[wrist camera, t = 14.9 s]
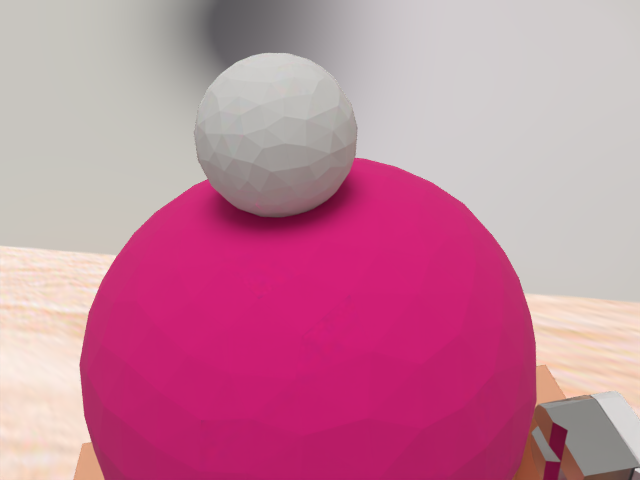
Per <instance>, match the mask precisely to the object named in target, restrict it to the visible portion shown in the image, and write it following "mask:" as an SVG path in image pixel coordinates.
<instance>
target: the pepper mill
mask: <svg viewBox="0 0 640 480" xmlns="http://www.w3.org/2000/svg"><path fill="white" fill-rule="evenodd" d="M194 137H195V144H196V150H197V157H198V161H199V163H200V164H201V167H202V169H203V170H204V173H205V174H206V176H207V178H208V179H207V180H205V181H203V182H201V183H198V184H196V185H194V186H192V187H191V188H190V189H188V190H187V191H185V192H184V193H183V194H181V195H180V196H178V197H177V198H175V199H174V200H173V201H171V202H170V203H168V204H167V205H165V206H164V207H162V208H161V209H160V210H158V211H157V212H156V213H154V214H153V215H152V216H151V217H150V218H149V219H148V220H147V221H146V222H145V223H144V224H143V225H142V226H141V227H140V228H139V229H138V230H137V231H136V232H135V233H134V234H133V235H132V237H131V238H130V240H129V241H128V243H127V244H126V245H125V246H124V248H123V249H122V250H121V252H120V253H119V254H118V256H117V257H116V258H115V260H114V262H113V263H112V265H111V267H110V268H109V270H108V272H107V273H106V275H105V277H104V278H103V280H102V282H101V284H100V287H99V289H98V292H97V294H96V296H95V299H94V301H93V304H92V306H91V309H90V311H89V315H88V320H87V325H86V330H85V336H84V341H83V347H82V353H81V359H80V375H81V385H82V396H83V406H84V416H85V420H86V424H87V427H88V431H89V434H90V438H91V441H92V445H93V448H94V452H95V455H96V457H97V460H98V463H99V465H100V468H101V471H102V473H103V476H104V479H105V480H512V478H513V477H514V475H515V473H516V472H517V470H518V468H519V467H520V465H521V461H522V457H523V453H524V449H525V445H526V441H527V437H528V434H529V430H530V426H531V422H532V418H533V414H534V410H535V406H536V402H537V390H536V342H535V337H534V331H533V325H532V320H531V315H530V312H529V308H528V305H527V302H526V299H525V296H524V293H523V290H522V287H521V284H520V280H519V278H518V276H517V274H516V272H515V270H514V268H513V267H512V265H511V263H510V261H509V259H508V257H507V256H506V254H505V252H504V251H503V249H502V248H501V247H500V245H499V244H498V242H497V241H496V240H495V238H494V237H493V236H492V234H491V233H490V232H489V231H488V230H487V229H486V228H485V227H484V226H483V224H481V222H480V221H479V220H478V219H477V218H476V217H475V216H474V215H473V213H472V212H471V211H470V210H469V209H468V208H467V207H466V206H465V205H464V204H463V203H461V202H460V201H459V200H457V199H456V198H454V197H453V196H451V195H450V194H448V193H447V192H445V191H444V190H442V189H441V188H439V187H438V186H436V185H435V184H433V183H432V182H430V181H427V180H425V179H423V178H421V177H418V176H416V175H413V174H411V173H409V172H407V171H405V170H402V169H400V168H398V167H395V166H391V165H387V164H383V163H379V162H375V161H371V160H367V159H361V158H355V153H356V140H357V124H356V120H355V117H354V112H353V109H352V105H351V103H350V101H349V100H348V98H347V97H346V95H345V94H344V92H343V91H342V89H341V88H340V86H339V85H338V83H337V81H336V80H335V78H334V77H333V76H331V75H330V74H329V73H328V72H327V71H326V70H325V69H323V68H322V67H320V66H319V65H317V64H315V63H314V62H312V61H310V60H308V59H305V58H302V57H298V56H295V55H291V54H288V53H263V54H258V55H253V56H251V57H248V58H246V59H243V60H241V61H238V62H236V63H235V64H234V65H232V66H231V67H230V68H228V69H227V70H226V71H224V72H223V73H221V74H220V75H219V76H218V77H217V78H216V80H215V81H214V82H213V83H212V84H211V85H210V87H209V88H208V89H207V91H206V93H205V96H204V97H203V100H202V102H201V104H200V106H199V109H198V112H197V118H196V124H195V130H194Z"/></svg>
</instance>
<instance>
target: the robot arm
mask: <svg viewBox="0 0 640 480" xmlns="http://www.w3.org/2000/svg"><path fill="white" fill-rule="evenodd" d="M534 419H535V421H536V423H537V424H538V426H537V427H536V428H535V429H534V430H533V431H532V432H531V442H530V446H531V451H532V457H533V461H534V464H535V466H536V469H537V471H538V473H539V476H540V478H541V480H640V419H639V418H638V416H637V415H636V414H635V412H634V411H633V410H632V408H631V407H630V405H629V404H628V403H627V401H626V400H625V399H624V397H623V396H622V395H621V394H620V393H618V392H617V391H609V392H604V393H598V394H593V395H589V396H588V395H583V396H578V397H573V398H568V399H562V400H557V401H552V402H547V403H542V404H538V405H537V406H536V408H535V412H534Z"/></svg>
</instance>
